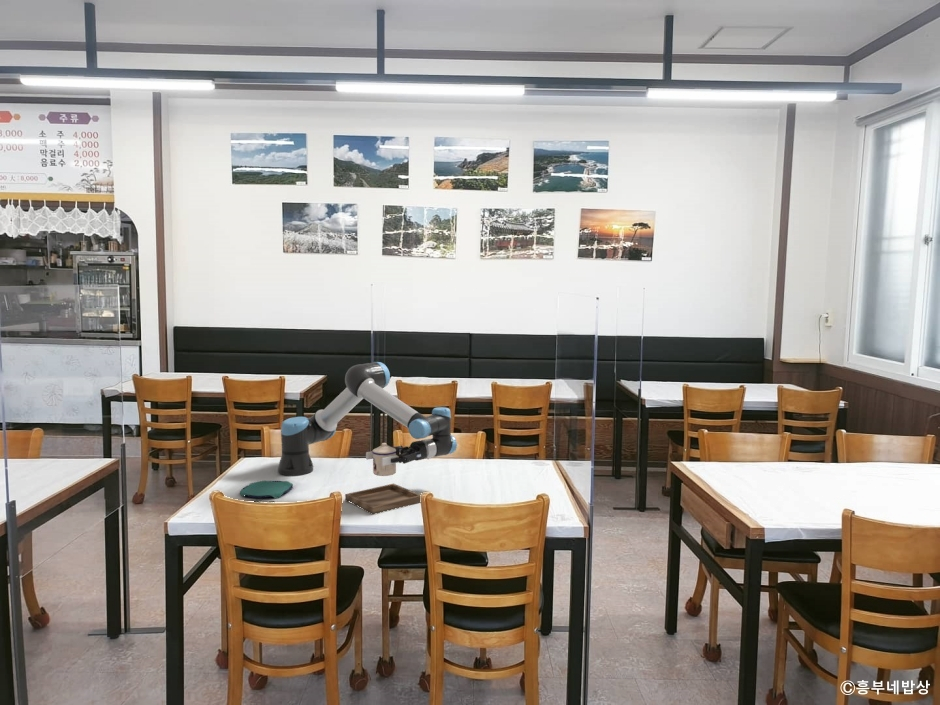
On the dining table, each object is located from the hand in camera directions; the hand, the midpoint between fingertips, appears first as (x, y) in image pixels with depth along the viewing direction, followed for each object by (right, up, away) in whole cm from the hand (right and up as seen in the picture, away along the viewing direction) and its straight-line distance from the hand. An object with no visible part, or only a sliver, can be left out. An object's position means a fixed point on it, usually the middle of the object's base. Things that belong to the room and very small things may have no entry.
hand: (374, 458), depth 240 cm
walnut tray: (+3, -17, +4) cm, 18 cm away
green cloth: (-46, -17, +10) cm, 50 cm away
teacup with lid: (+3, -7, +3) cm, 8 cm away
